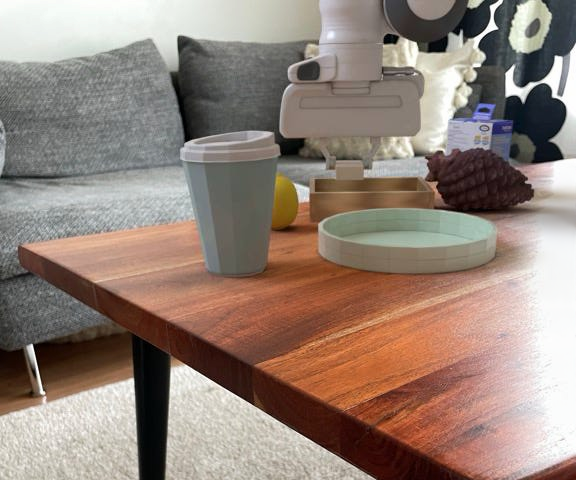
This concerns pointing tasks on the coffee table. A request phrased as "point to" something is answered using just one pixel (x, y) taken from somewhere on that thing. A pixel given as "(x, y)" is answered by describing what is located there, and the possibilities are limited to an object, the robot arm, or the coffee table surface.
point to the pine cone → (477, 180)
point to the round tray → (407, 240)
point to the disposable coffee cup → (233, 198)
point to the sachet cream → (349, 170)
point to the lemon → (284, 203)
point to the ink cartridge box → (480, 133)
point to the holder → (367, 195)
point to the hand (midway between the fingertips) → (348, 169)
